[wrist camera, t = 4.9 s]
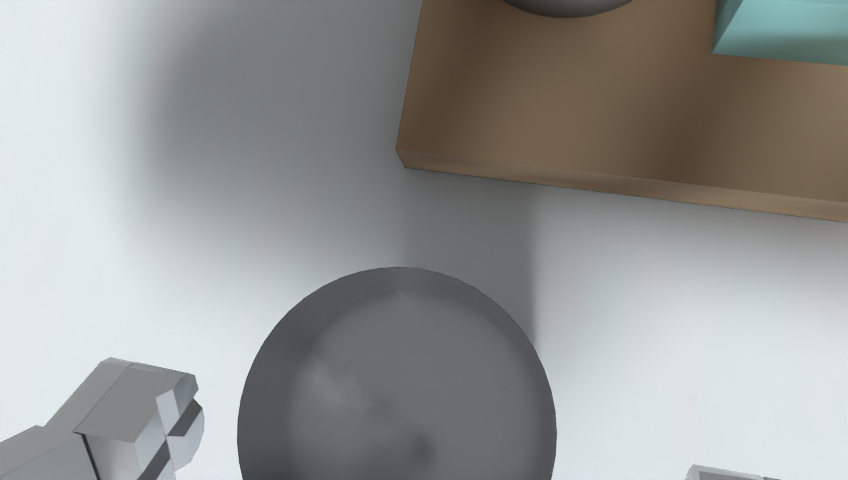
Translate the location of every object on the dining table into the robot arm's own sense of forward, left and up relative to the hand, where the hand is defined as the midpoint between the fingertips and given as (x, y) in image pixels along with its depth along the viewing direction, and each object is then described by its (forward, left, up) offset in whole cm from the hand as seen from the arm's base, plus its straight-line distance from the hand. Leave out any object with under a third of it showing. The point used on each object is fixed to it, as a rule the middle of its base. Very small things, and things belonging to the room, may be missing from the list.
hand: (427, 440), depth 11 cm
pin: (0, 0, -6) cm, 6 cm away
